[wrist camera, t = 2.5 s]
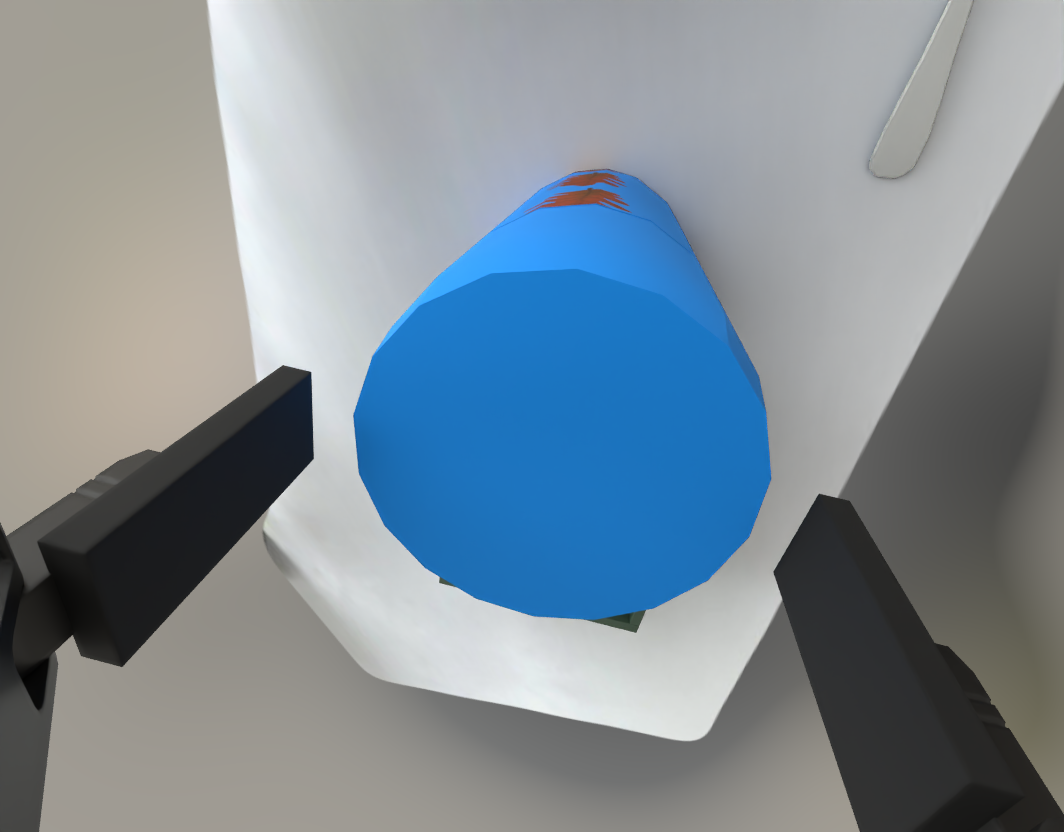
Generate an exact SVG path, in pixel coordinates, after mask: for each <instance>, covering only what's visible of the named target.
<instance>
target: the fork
mask: <svg viewBox="0 0 1064 832" xmlns="http://www.w3.org/2000/svg"><path fill="white" fill-rule="evenodd" d="M973 2H974V0H949V1H948V3H947V6H946V8H945V10H944V12H943V14H942V16H941V18H940V20H939V22H938V24H937V27H936V29H935V31H934V33H933V35H932V37H931V39H930V41H929V43H928V45H927V47H926V49H925V51H924V53H923V55H922V57H921V59H920V61H919V63H918V64H917V66H916V68H915V70H914V72H913V74H912V76H911V78H910V80H909V82H908V84H907V85H906V87H905V89H904V91H903V93H902V95H901V97H900V99H899V101H898V103H897V105H896V107H895V109H894V110H893V112H892V114H891V116H890V118H889V120H888V122H887V124H886V126H885V128H884V130H883V132H882V134H881V136H880V138H879V140H878V143H877V145H876V147H875V149H874V151H873V154H872V156H871V158H870V160H869V169H870V171H871V172H872V173H873V174H874V176H877V177H884V178H892V179H894V178H897V177H900V176H902V175H905V174H906V173H907V172H909V171H910V170H911V169H912V168H913V167H914V166H915V164H916V162H917V160H918V158H919V156H920V154H921V152H922V150H923V148H924V146H925V144H926V143H927V141H928V138H929V135H930V133H931V130H932V127H933V124H934V121H935V118H936V115H937V112H938V109H939V106H940V103H941V100H942V97H943V94H944V91H945V87H946V84H947V81H948V78H949V74H950V71H951V68H952V65H953V61H954V58H955V55H956V52H957V48H958V46H959V43H960V40H961V37H962V34H963V31H964V28H965V25H966V22H967V19H968V17H969V14H970V11H971V8H972V5H973Z"/></svg>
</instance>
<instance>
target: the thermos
mask: <svg viewBox="0 0 1064 832" xmlns="http://www.w3.org/2000/svg"><path fill="white" fill-rule="evenodd" d="M353 417H354V427H355V438H356V448H357V459H358V469H359V475H360V477H361V479H362V481H363V483H364V485H365V487H366V489H367V491H368V493H369V495H370V497H371V499H372V501H373V503H374V505H375V507H376V509H377V511H378V513H379V515H380V517H381V519H382V521H383V523H384V525H385V527H386V528H387V529H388V530H389V531H390V532H391V533H392V534H393V535H394V536H395V537H396V538H397V539H398V540H399V541H400V542H401V543H402V544H403V545H404V546H405V547H406V549H407V550H408V551H409V552H410V553H411V554H412V555H413V556H414V557H415V558H416V559H417V560H418V561H419V562H420V563H421V564H422V565H423V566H424V567H425V568H426V569H428V570H429V571H431V572H433V573H434V574H436V575H438V576H439V577H441V578H443V579H444V580H446V581H448V582H449V583H451V584H453V585H454V586H456V587H458V588H459V589H461V590H463V591H464V592H466V593H468V594H469V595H471V596H473V597H474V598H476V599H479V600H482V601H486V602H489V603H492V604H495V605H499V606H502V607H505V608H508V609H512V610H515V611H518V612H521V613H525V614H528V615H531V616H537V617H554V618H571V619H588V620H596V619H601V618H606V617H612V616H617V615H622V614H627V613H632V612H637V611H642V610H648V609H653V608H655V607H657V606H659V605H661V604H663V603H665V602H667V601H669V600H671V599H673V598H675V597H677V596H679V595H681V594H683V593H684V592H686V591H688V590H690V589H692V588H694V587H696V586H698V585H700V584H702V583H704V582H706V581H708V580H709V579H710V578H711V576H712V575H713V574H714V573H715V572H716V571H717V570H718V569H719V568H720V567H721V566H722V565H723V564H724V563H725V562H726V561H727V560H728V559H729V558H730V557H731V555H732V554H733V553H734V552H735V551H736V550H737V549H738V548H739V547H740V546H741V545H742V544H743V543H744V542H745V541H746V540H747V539H748V538H749V536H750V534H751V531H752V528H753V526H754V523H755V520H756V518H757V515H758V513H759V510H760V507H761V505H762V502H763V499H764V497H765V494H766V491H767V489H768V486H769V484H770V481H771V468H770V456H769V443H768V430H767V417H766V409H765V404H764V399H763V394H762V389H761V384H760V379H759V375H758V373H757V372H756V370H755V368H754V366H753V364H752V362H751V360H750V358H749V356H748V354H747V353H746V351H745V349H744V347H743V345H742V343H741V341H740V339H739V337H738V335H737V334H736V332H735V330H734V328H733V326H732V324H731V322H730V320H729V318H728V316H727V315H726V313H725V311H724V309H723V307H722V305H721V303H720V301H719V299H718V297H717V296H716V294H715V292H714V290H713V288H712V286H711V284H710V282H709V280H708V278H707V277H706V275H705V273H704V271H703V269H702V267H701V265H700V263H699V261H698V259H697V258H696V256H695V254H694V252H693V250H692V248H691V246H690V244H689V242H688V240H687V239H686V237H685V235H684V233H683V231H682V229H681V227H680V226H679V224H678V222H677V220H676V218H675V217H674V215H673V213H672V211H671V209H670V207H669V206H668V204H667V202H666V201H664V200H663V199H662V198H661V197H660V196H658V195H657V194H656V193H655V192H653V191H652V190H651V189H650V188H649V187H647V186H646V185H645V184H644V183H642V182H641V181H640V180H639V179H638V178H636V177H633V176H629V175H626V174H623V173H620V172H616V171H613V170H610V169H602V170H590V171H578V172H575V173H572V174H570V175H568V176H566V177H564V178H562V179H560V180H558V181H556V182H554V183H552V184H550V185H548V186H546V187H544V188H542V189H540V190H539V191H538V192H537V193H536V194H534V195H533V196H532V197H531V198H530V199H529V200H527V201H526V202H525V203H524V204H523V205H521V206H520V207H519V208H518V209H517V210H516V211H514V212H513V213H512V214H511V215H510V216H508V217H507V218H506V219H505V220H504V221H503V222H501V223H500V224H499V225H498V226H497V227H496V228H494V229H493V230H492V231H491V232H490V233H488V234H487V235H486V236H485V237H484V238H483V239H481V240H480V241H479V242H478V243H477V244H475V245H474V246H473V247H472V248H471V249H470V250H468V251H467V252H466V253H465V254H464V255H463V256H461V257H460V258H459V259H458V260H457V261H455V262H454V263H453V264H452V265H451V266H450V267H448V268H447V269H446V270H445V271H444V272H442V273H441V274H440V275H439V276H438V277H437V278H436V279H435V280H434V281H433V282H432V283H431V284H430V285H429V287H428V288H427V289H426V290H425V291H424V292H423V293H422V294H421V295H420V296H419V298H418V299H417V300H416V301H415V302H414V303H413V304H412V305H411V306H410V307H409V309H408V310H407V311H406V312H405V313H404V314H403V315H402V316H401V317H400V318H399V320H398V321H397V322H396V323H395V324H394V325H393V326H392V328H391V329H390V331H389V332H388V334H387V335H386V337H385V338H384V340H383V341H382V343H381V344H380V346H379V347H378V349H377V350H376V352H375V353H374V355H373V356H372V360H371V363H370V366H369V369H368V372H367V375H366V378H365V381H364V384H363V387H362V390H361V393H360V396H359V399H358V402H357V406H356V409H355V412H354V415H353Z"/></svg>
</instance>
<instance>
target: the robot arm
mask: <svg viewBox="0 0 1064 832" xmlns="http://www.w3.org/2000/svg"><path fill="white" fill-rule="evenodd" d="M313 459H314V452H313V416H312V380H311V372H309V371H304V370H300V369H296V368H292V367H288V366H284V365H283V366H281V367H280V368H278V369H277V370H276V371H274V372H273V373H271V374H270V375H269V376H267V377H266V378H264V379H263V380H262V381H260V382H259V383H257V384H256V385H255V386H253V387H252V388H251V389H249V390H248V391H246V392H245V393H243V394H242V395H241V396H239V397H238V398H236V399H235V400H234V401H232V402H231V403H229V404H228V405H227V406H225V407H224V408H223V409H221V410H220V411H218V412H217V413H216V414H214V415H213V416H211V417H210V418H208V419H207V420H206V421H204V422H203V423H201V424H200V425H199V426H197V427H196V428H195V429H193V430H192V431H190V432H189V433H187V434H186V435H185V436H183V437H182V438H181V439H179V440H178V441H176V442H175V443H173V444H172V445H171V446H169V447H168V448H167V449H165V450H164V451H162V452H161V453H160V452H156V451H152V450H145V451H143V452H140V453H138V454H135V455H132V456H130V457H127V458H125V459H122V460H119V461H118V462H116V463H115V464H113V465H112V466H110V467H109V468H107V469H106V470H104V471H103V472H101V473H100V474H99V475H97V476H96V478H95V479H94V480H89V481H88V482H86V483H85V484H83V485H82V486H80V487H79V488H77V489H76V492H75V493H70V494H68V495H67V496H66V497H64V498H62V499H61V500H60V501H58V502H57V503H55V504H54V505H52V506H51V507H49V508H48V509H46V510H45V511H43V512H42V513H40V514H39V515H37V516H36V517H34V518H33V519H32V520H30V521H29V522H27V523H25V524H24V525H22V526H21V527H19V528H18V529H16V530H15V531H13V532H12V533H10V534H9V535H7V536H6V535H5V533H4V530H3V528H2V525H1V523H0V832H39V827H40V818H41V809H42V801H43V800H42V799H43V792H44V783H45V774H46V766H47V757H48V748H49V739H50V730H51V721H52V713H53V704H54V696H55V687H56V678H57V669H58V662H57V657H56V653H55V651H56V650H57V649H58V648H59V647H60V646H61V645H62V644H63V643H64V642H65V641H66V640H67V639H68V638H69V637H71V636H72V635H73V637H74V639H75V641H76V644H77V647H78V649H79V652H80V654H81V656H83V657H86V658H90V659H94V660H98V661H101V662H105V663H109V664H113V665H116V666H120V667H123V665H125V663H126V662H127V661H128V660H129V659H130V658H131V657H132V656H133V655H134V654H135V653H136V651H137V650H138V649H139V648H140V647H141V646H142V645H143V644H144V643H145V642H146V640H148V638H149V637H150V636H151V635H152V634H153V633H154V632H155V631H156V630H157V629H158V628H159V626H160V625H161V624H162V623H163V622H164V621H165V620H166V619H167V618H168V617H169V615H171V613H172V612H173V611H174V610H175V609H176V608H177V607H178V606H179V604H181V603H182V602H183V600H184V599H185V598H186V597H187V596H188V595H189V594H190V593H191V592H192V591H193V590H194V588H195V587H196V586H197V585H198V584H199V583H200V582H201V581H202V580H203V579H204V578H205V576H206V575H207V574H208V573H209V572H210V571H211V570H212V569H213V568H214V567H215V566H216V565H217V563H218V562H219V561H220V560H221V559H222V558H223V557H224V556H225V555H226V554H227V553H228V551H229V550H230V549H231V548H232V547H233V546H234V545H235V544H236V543H237V542H238V541H239V539H240V538H241V537H242V536H243V535H244V534H245V533H246V532H247V531H248V530H249V529H250V528H251V526H252V525H253V524H254V523H255V522H256V521H257V520H258V519H259V518H260V517H261V515H262V514H263V513H264V512H265V511H266V510H267V509H268V508H269V507H270V506H271V505H272V504H273V503H274V501H275V500H276V499H277V498H278V497H279V496H280V495H281V494H282V493H283V492H284V491H285V489H286V488H287V487H288V486H289V485H290V484H291V483H292V482H293V481H294V480H295V479H296V478H297V476H298V475H299V474H300V473H301V472H302V471H303V470H304V469H305V468H306V467H307V466H308V464H309V463H310V462H311V461H312V460H313ZM774 575H775V578H776V581H777V584H778V587H779V590H780V593H781V596H782V599H783V602H784V605H785V608H786V611H787V614H788V617H789V620H790V623H791V626H792V629H793V632H794V635H795V638H796V641H797V644H798V647H799V650H800V653H801V656H802V659H803V662H804V665H805V668H806V671H807V674H808V677H809V680H810V683H811V686H812V689H813V692H814V695H815V698H816V701H817V704H818V707H819V710H820V713H821V716H822V719H823V722H824V725H825V728H826V731H827V734H828V737H829V740H830V743H831V746H832V749H833V752H834V755H835V758H836V761H837V764H838V767H839V770H840V773H841V776H842V779H843V782H844V785H845V788H846V791H847V794H848V797H849V800H850V803H851V806H852V809H853V812H854V815H855V818H856V821H857V824H858V827H859V830H860V832H1064V814H1063V813H1062V811H1061V809H1060V807H1059V806H1058V805H1057V803H1056V801H1055V800H1054V798H1053V797H1052V795H1051V793H1050V792H1049V790H1048V789H1047V787H1046V785H1045V784H1044V782H1043V781H1042V779H1041V778H1040V776H1039V774H1038V773H1037V771H1036V770H1035V768H1034V767H1033V765H1032V764H1031V762H1030V760H1029V759H1028V757H1027V756H1026V754H1025V752H1024V751H1023V749H1022V748H1021V746H1020V745H1019V743H1018V741H1017V740H1016V738H1015V737H1014V735H1013V734H1012V732H1011V730H1010V729H1009V728H1006V727H1005V721H1004V719H1003V718H1002V716H1001V715H1000V713H999V712H998V710H997V709H996V707H995V705H991V703H990V701H991V699H990V698H989V696H988V694H987V693H986V691H985V690H984V688H983V687H982V685H981V683H980V682H979V680H978V679H977V677H976V675H975V674H974V672H973V671H972V670H971V669H970V668H969V667H968V666H967V665H966V664H965V663H964V662H963V661H962V660H961V659H960V658H959V657H958V656H957V655H956V654H955V653H954V652H953V651H952V650H951V649H950V648H949V647H948V646H943V645H940V644H936V643H934V641H933V640H932V638H931V636H930V635H929V633H928V631H927V630H926V628H925V626H924V625H923V623H922V621H921V620H920V618H919V616H918V615H917V613H916V611H915V609H914V608H913V606H912V604H911V603H910V601H909V599H908V598H907V596H906V594H905V593H904V591H903V589H902V588H901V586H900V584H899V583H898V581H897V579H896V578H895V576H894V574H893V573H892V571H891V569H890V568H889V566H888V564H887V563H886V561H885V559H884V558H883V556H882V554H881V553H880V551H879V549H878V548H877V546H876V544H875V542H874V541H873V539H872V538H871V536H870V534H869V532H868V531H867V529H866V527H865V526H864V524H863V522H862V521H861V519H860V518H859V516H858V514H857V512H856V511H855V509H854V507H853V506H852V504H851V502H850V501H847V500H843V499H839V498H835V497H831V496H826V495H822V494H819V495H818V496H817V498H816V500H815V501H814V503H813V505H812V507H811V508H810V510H809V512H808V513H807V515H806V517H805V519H804V520H803V522H802V524H801V525H800V527H799V529H798V531H797V532H796V534H795V536H794V537H793V539H792V541H791V543H790V544H789V546H788V548H787V549H786V551H785V553H784V555H783V556H782V558H781V560H780V561H779V563H778V565H777V567H776V568H775V570H774Z"/></svg>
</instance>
